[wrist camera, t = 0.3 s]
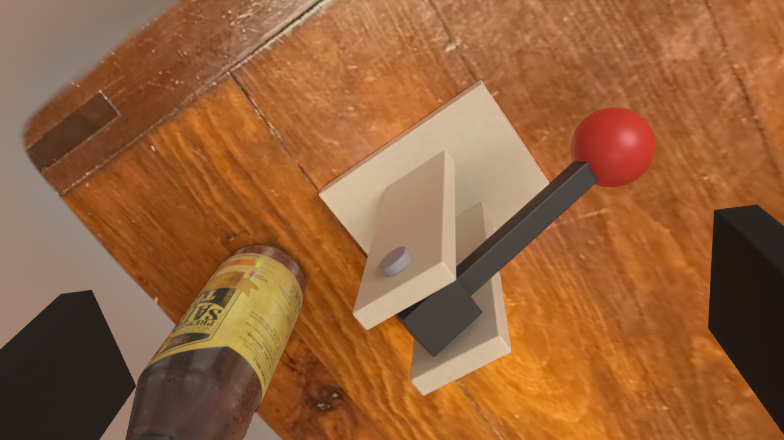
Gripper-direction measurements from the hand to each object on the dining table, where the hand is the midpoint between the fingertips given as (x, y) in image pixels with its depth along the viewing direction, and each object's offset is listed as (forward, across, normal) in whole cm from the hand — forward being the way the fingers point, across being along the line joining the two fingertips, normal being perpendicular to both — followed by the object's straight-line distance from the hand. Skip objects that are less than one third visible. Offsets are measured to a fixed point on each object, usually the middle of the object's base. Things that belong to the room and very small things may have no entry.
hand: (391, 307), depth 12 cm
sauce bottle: (+24, -13, -12) cm, 30 cm away
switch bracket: (+24, 0, -7) cm, 25 cm away
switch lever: (+15, +4, -5) cm, 16 cm away
